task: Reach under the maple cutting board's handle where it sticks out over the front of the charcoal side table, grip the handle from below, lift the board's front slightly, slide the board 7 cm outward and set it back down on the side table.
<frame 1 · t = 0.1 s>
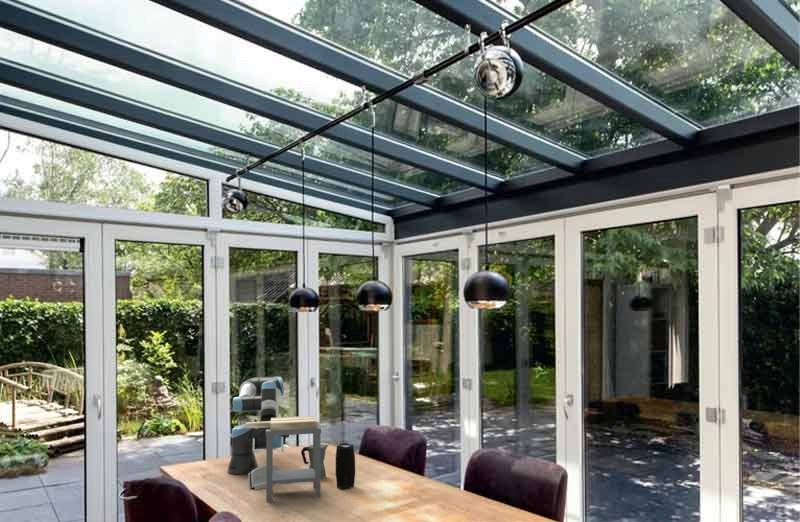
hand: (268, 451, 296), 15 cm above the table, tool tilted 35°, fingers open, 13 cm apart
side table: (293, 494, 277), on the table
coffeepot: (315, 478, 305), on the table
cutting board: (293, 426, 280), point 30 cm above the table, touching side table
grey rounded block: (265, 485, 293), on the table
portable speaker: (345, 488, 287), on the table
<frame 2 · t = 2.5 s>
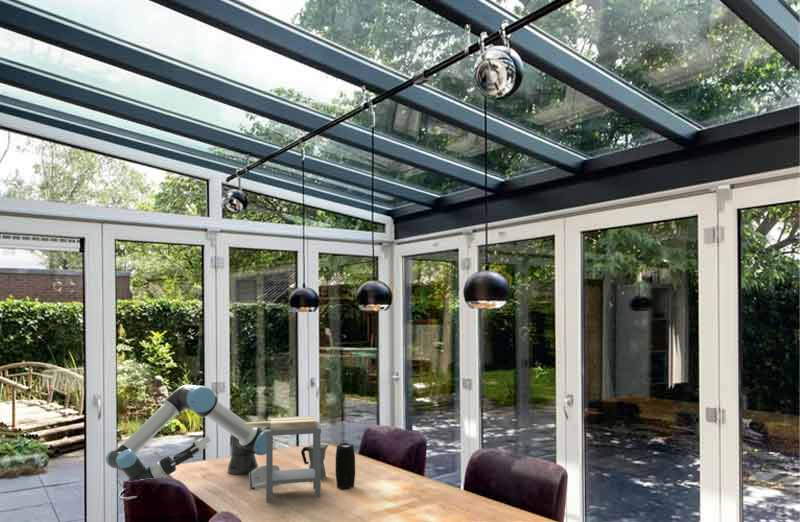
hand: (207, 441, 276), 25 cm above the table, tool pointing upward, fingers open, 13 cm apart
nothing on the table moved.
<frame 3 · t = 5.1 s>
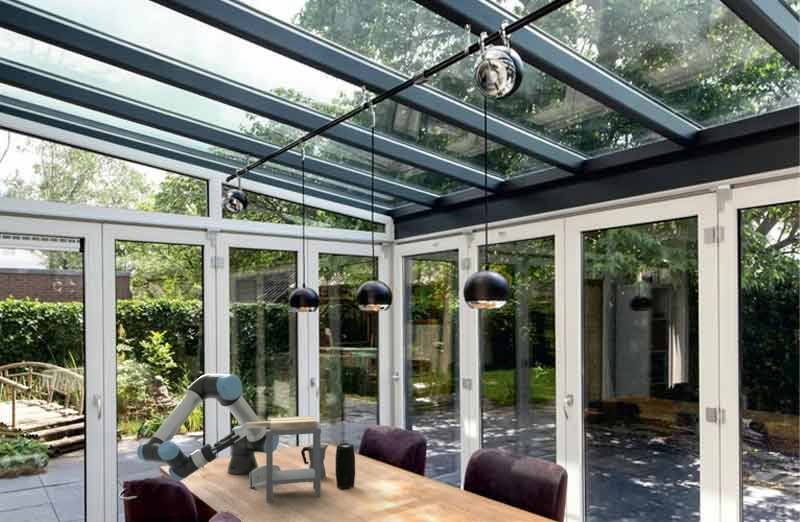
hand: (247, 428, 275), 30 cm above the table, tool pointing upward, fingers open, 13 cm apart
nothing on the table moved.
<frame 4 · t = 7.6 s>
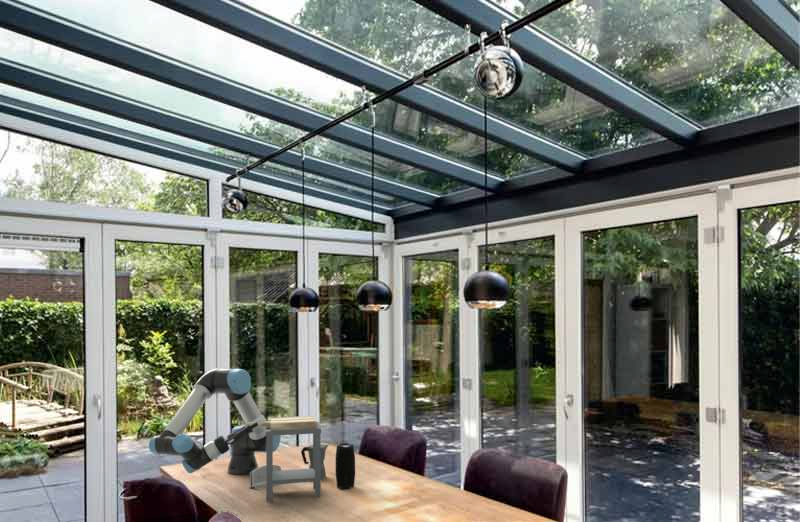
hand: (264, 418, 278), 34 cm above the table, tool pointing upward, fingers closed on cutting board, 4 cm apart
cutting board: (293, 426, 280), point 30 cm above the table, touching gripper, side table
everything else where it was.
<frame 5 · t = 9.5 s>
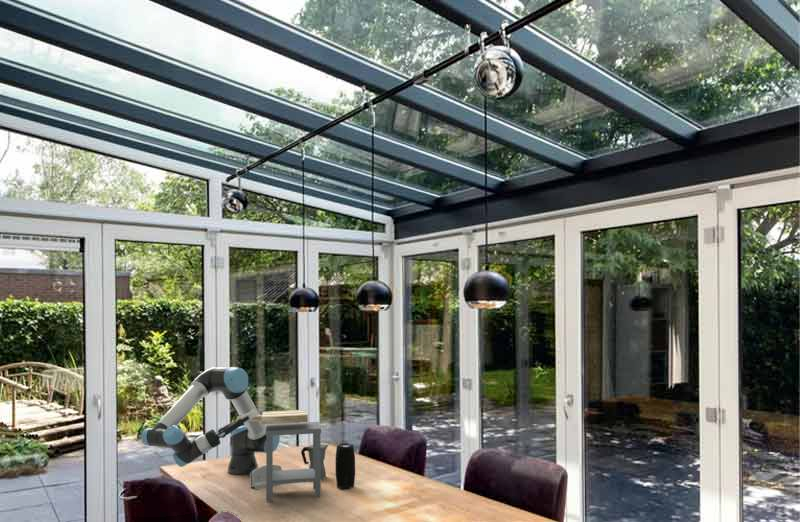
hand: (255, 412, 277), 37 cm above the table, tool pointing upward, fingers closed on cutting board, 4 cm apart
cutting board: (284, 420, 279), point 33 cm above the table, touching gripper
when the fingers open (35 cm above the table, at t = 11.4 s): cutting board stays where it is, resting on side table.
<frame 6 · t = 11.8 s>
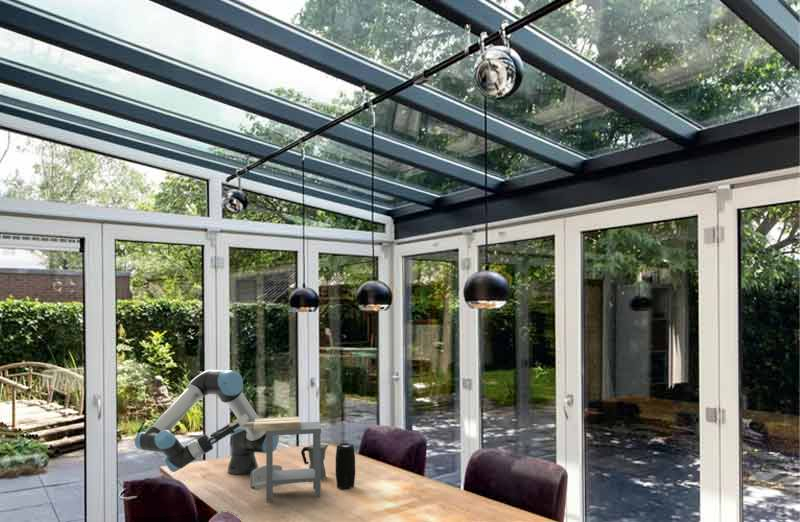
hand: (246, 417, 276), 35 cm above the table, tool pointing upward, fingers open, 9 cm apart
cutting board: (277, 427, 278), point 30 cm above the table, touching side table
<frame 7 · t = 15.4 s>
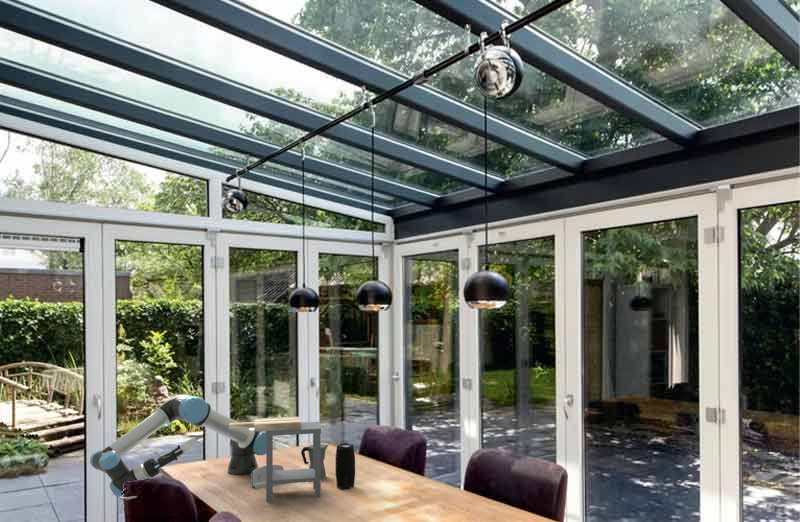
hand: (192, 443, 272), 25 cm above the table, tool pointing upward, fingers open, 13 cm apart
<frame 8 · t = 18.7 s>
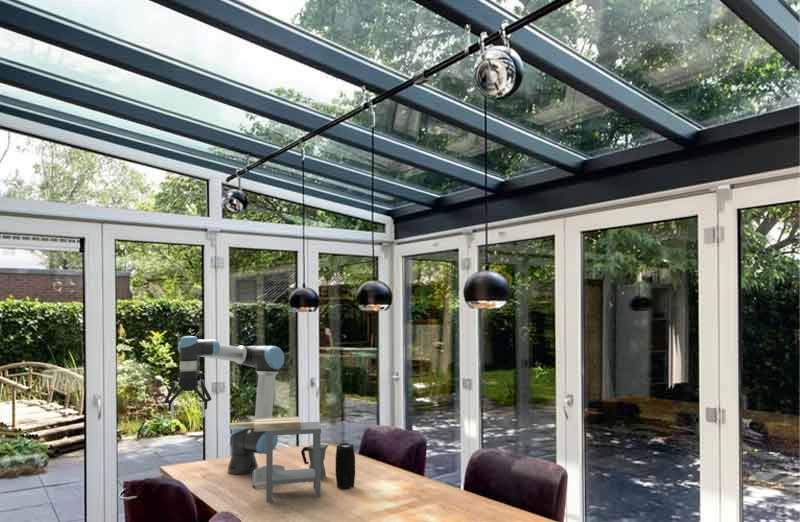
hand: (187, 417, 280), 35 cm above the table, tool pointing down, fingers open, 13 cm apart
at the end: cutting board inside the target area (0.5 cm from its centre), point 30.0 cm above the table; cutting board moved 7.0 cm from its start; the gripper is holding nothing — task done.
